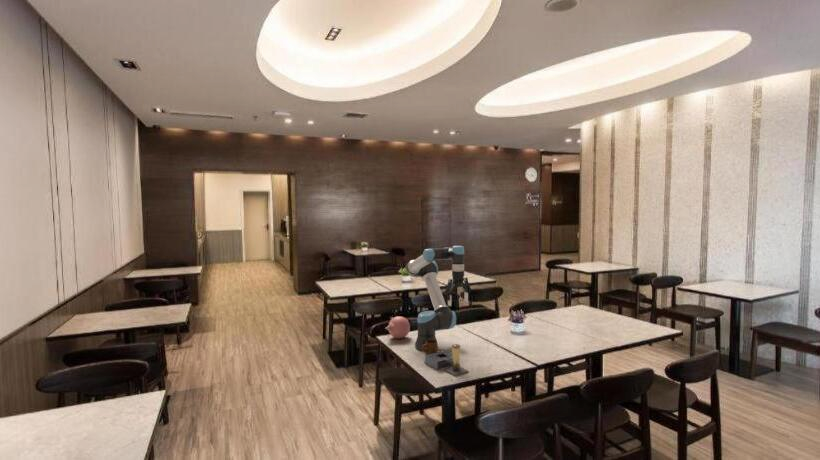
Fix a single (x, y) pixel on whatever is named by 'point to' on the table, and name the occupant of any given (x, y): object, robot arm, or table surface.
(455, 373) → the mat
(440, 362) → the housing
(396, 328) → the balloon
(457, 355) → the gold metal cylinder
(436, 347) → the mug
